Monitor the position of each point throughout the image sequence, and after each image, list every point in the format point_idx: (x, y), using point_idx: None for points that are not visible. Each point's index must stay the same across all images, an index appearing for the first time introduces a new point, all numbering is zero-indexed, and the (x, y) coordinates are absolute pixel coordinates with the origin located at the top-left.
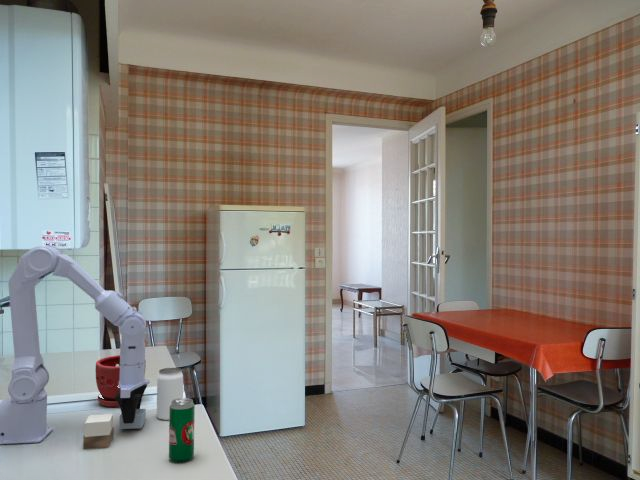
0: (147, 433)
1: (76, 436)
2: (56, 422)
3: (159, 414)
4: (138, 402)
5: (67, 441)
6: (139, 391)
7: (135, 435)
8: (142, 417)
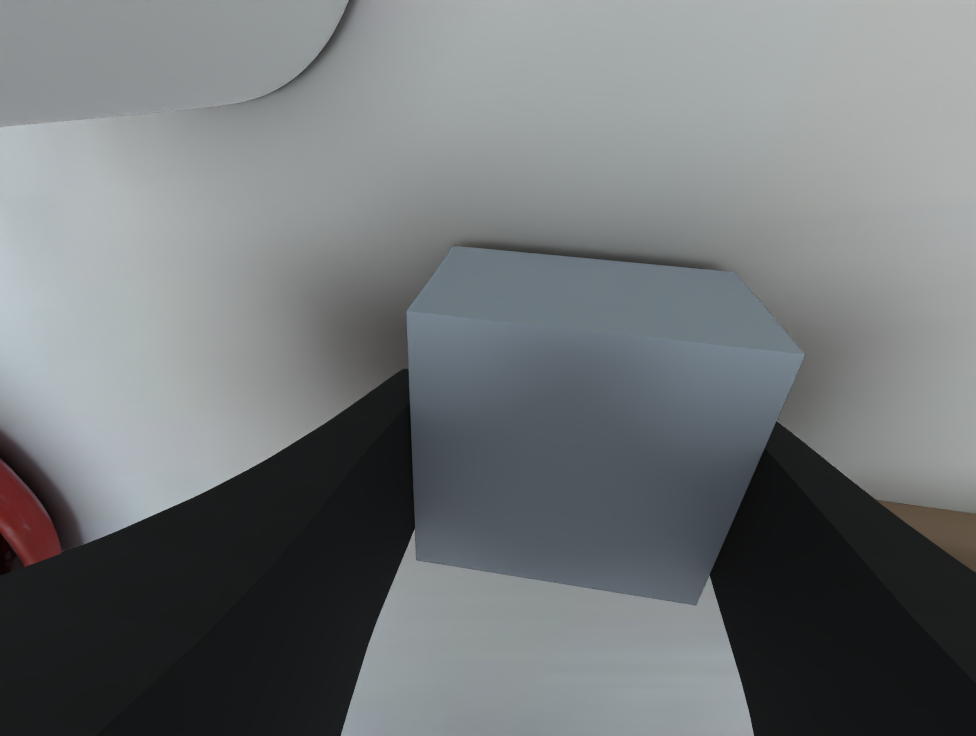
0: (851, 166)
1: (640, 673)
2: (369, 728)
3: (300, 40)
4: (364, 490)
5: (718, 704)
6: (226, 731)
7: (844, 311)
8: (694, 315)
